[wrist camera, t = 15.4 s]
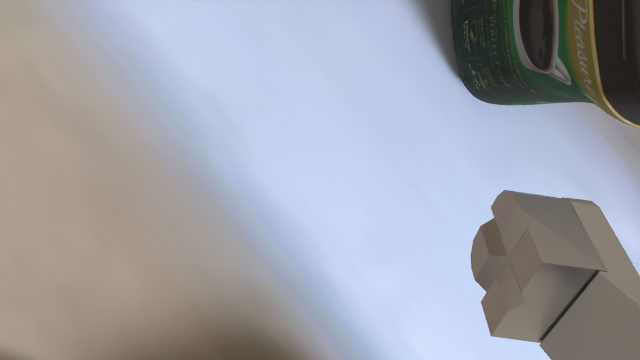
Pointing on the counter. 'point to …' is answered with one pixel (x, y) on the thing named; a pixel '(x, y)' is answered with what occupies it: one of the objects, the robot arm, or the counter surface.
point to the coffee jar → (551, 52)
